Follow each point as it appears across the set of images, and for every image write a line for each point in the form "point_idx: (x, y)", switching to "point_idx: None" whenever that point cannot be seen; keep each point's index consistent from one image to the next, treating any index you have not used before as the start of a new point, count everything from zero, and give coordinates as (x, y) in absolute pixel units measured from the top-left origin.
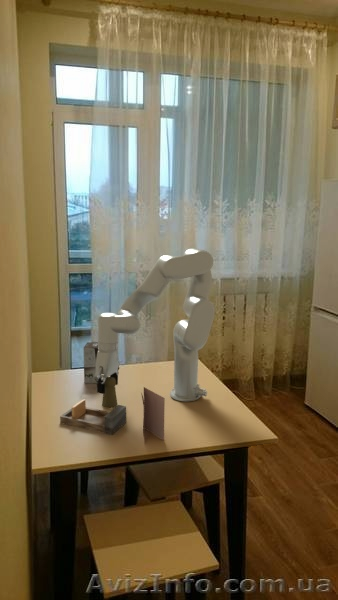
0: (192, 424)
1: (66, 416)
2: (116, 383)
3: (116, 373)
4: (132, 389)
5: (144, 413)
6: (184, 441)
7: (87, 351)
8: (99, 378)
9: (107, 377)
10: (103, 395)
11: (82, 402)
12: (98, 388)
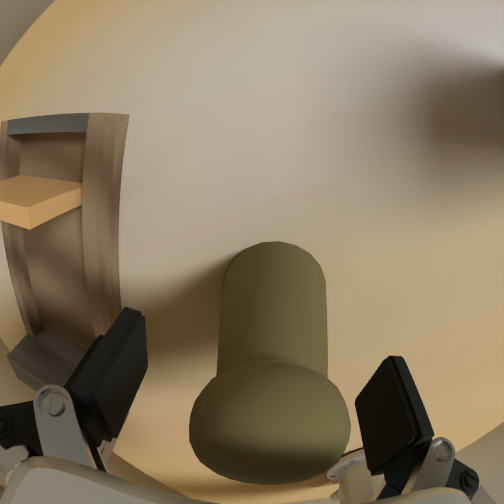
0: (199, 473)
1: (4, 150)
2: (358, 410)
3: (378, 490)
4: (463, 335)
5: (110, 450)
6: (125, 452)
7: None
8: (12, 455)
9: (287, 465)
10: (240, 300)
11: (12, 221)
12: (88, 356)
